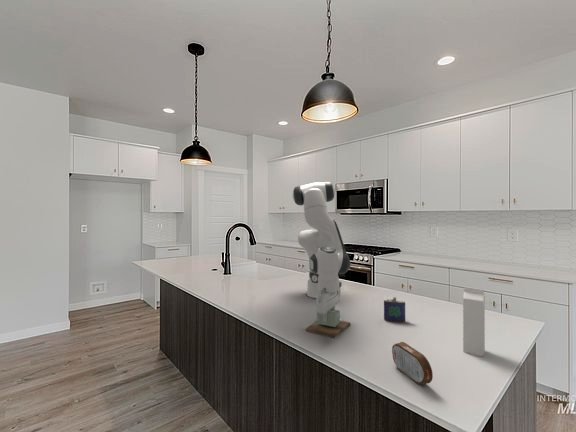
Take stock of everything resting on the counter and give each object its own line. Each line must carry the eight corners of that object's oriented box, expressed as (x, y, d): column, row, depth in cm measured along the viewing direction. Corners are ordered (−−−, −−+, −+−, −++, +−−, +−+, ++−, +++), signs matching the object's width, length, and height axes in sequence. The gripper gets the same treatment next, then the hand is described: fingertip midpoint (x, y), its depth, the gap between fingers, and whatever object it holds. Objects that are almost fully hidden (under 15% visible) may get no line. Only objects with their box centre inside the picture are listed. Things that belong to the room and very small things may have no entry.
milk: (465, 346, 108) (464, 285, 108) (485, 350, 105) (484, 288, 105) (463, 352, 103) (462, 289, 103) (483, 357, 100) (483, 291, 100)
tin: (433, 389, 82) (433, 359, 82) (424, 391, 81) (424, 360, 81) (398, 363, 96) (398, 337, 96) (390, 364, 95) (390, 338, 95)
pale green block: (322, 319, 130) (322, 307, 130) (339, 322, 127) (339, 309, 127) (317, 323, 125) (317, 311, 125) (335, 327, 121) (335, 314, 121)
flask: (405, 320, 134) (405, 297, 134) (405, 322, 131) (405, 298, 131) (383, 318, 137) (383, 295, 136) (384, 321, 134) (383, 297, 134)
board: (323, 319, 136) (323, 316, 136) (350, 325, 129) (350, 322, 129) (305, 330, 123) (305, 327, 123) (334, 338, 116) (334, 335, 116)
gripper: (326, 292, 115) (326, 328, 115) (342, 281, 133) (343, 312, 133) (311, 290, 118) (311, 325, 118) (329, 280, 136) (329, 310, 136)
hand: (328, 318), depth 126 cm, fingers closed on pale green block, 6 cm apart
